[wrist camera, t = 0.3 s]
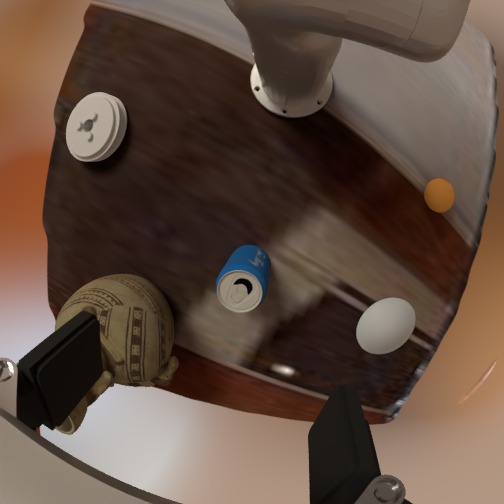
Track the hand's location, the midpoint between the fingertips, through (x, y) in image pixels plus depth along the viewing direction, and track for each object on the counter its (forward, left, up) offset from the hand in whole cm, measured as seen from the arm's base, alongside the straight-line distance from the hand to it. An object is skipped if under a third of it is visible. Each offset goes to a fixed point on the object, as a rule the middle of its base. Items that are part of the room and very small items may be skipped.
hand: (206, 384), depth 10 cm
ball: (-12, +26, -33) cm, 44 cm away
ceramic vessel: (+21, -19, -36) cm, 46 cm away
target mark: (+13, +26, -36) cm, 46 cm away
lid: (-11, -33, -36) cm, 50 cm away
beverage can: (+7, -1, -36) cm, 37 cm away
